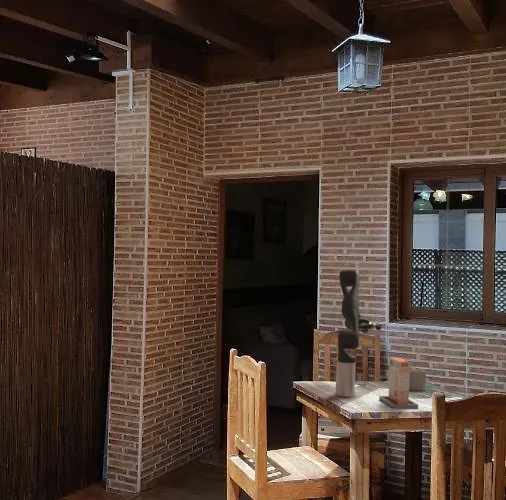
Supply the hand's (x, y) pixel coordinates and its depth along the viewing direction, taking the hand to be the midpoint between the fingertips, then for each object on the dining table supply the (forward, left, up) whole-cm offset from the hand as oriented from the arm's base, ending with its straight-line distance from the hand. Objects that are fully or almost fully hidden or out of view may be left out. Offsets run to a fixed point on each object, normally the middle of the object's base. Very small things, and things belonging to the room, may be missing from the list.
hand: (371, 328), depth 356 cm
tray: (+5, -30, -34) cm, 46 cm away
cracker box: (+6, -28, -34) cm, 44 cm away
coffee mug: (+28, +10, -34) cm, 45 cm away
